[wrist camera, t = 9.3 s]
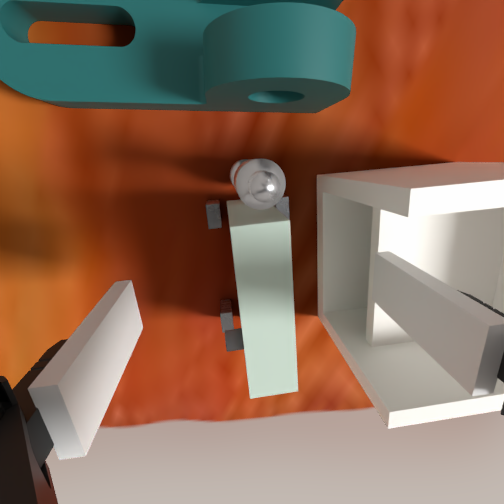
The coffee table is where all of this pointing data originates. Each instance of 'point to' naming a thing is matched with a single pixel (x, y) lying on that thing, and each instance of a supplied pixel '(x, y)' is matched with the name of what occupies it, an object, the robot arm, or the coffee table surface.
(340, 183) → the cabinet
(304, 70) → the bracket
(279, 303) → the door
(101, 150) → the coffee table surface
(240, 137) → the coffee table surface
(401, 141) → the coffee table surface
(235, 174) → the small parts
